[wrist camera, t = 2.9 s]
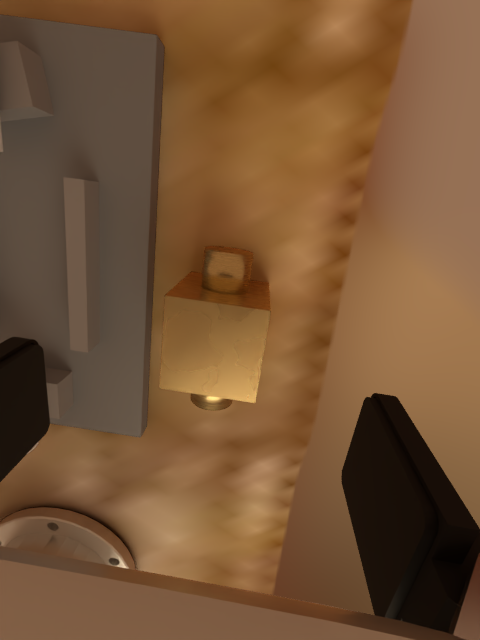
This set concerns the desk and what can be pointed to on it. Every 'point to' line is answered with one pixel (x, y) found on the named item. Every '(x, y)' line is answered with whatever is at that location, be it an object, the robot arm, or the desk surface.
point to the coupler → (216, 331)
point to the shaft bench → (81, 212)
